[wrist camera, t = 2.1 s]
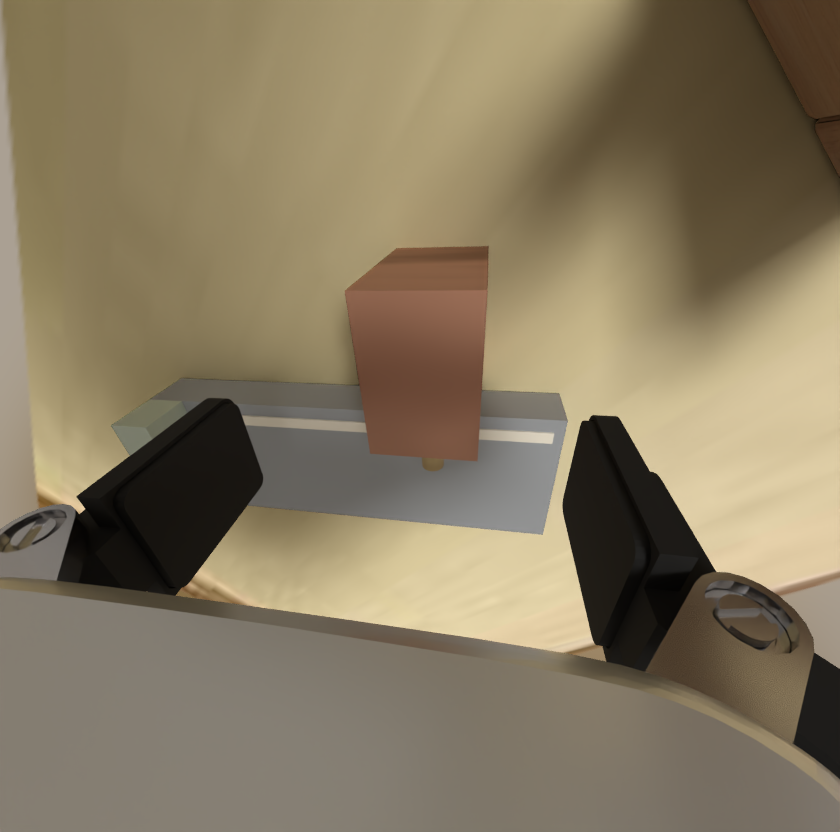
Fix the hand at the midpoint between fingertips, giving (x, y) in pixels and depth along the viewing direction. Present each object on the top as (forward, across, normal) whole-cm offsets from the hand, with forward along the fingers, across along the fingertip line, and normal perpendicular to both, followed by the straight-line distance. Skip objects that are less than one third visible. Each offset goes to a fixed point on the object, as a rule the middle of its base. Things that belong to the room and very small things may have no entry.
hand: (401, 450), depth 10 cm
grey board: (+10, +5, +7) cm, 13 cm away
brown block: (+10, 0, 0) cm, 10 cm away
